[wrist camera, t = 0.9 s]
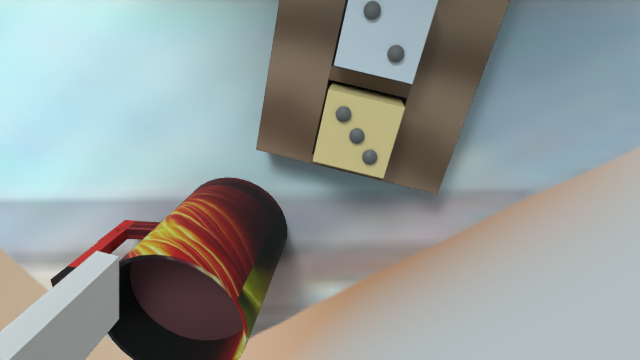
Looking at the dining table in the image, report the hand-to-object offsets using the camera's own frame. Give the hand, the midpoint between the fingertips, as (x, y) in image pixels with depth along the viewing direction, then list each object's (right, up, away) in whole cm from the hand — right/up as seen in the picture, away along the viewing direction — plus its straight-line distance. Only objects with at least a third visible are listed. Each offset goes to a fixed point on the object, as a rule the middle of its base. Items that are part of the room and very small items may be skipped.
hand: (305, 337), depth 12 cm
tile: (+3, +9, +16) cm, 19 cm away
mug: (-9, 0, +22) cm, 24 cm away
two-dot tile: (+5, +15, +13) cm, 21 cm away
